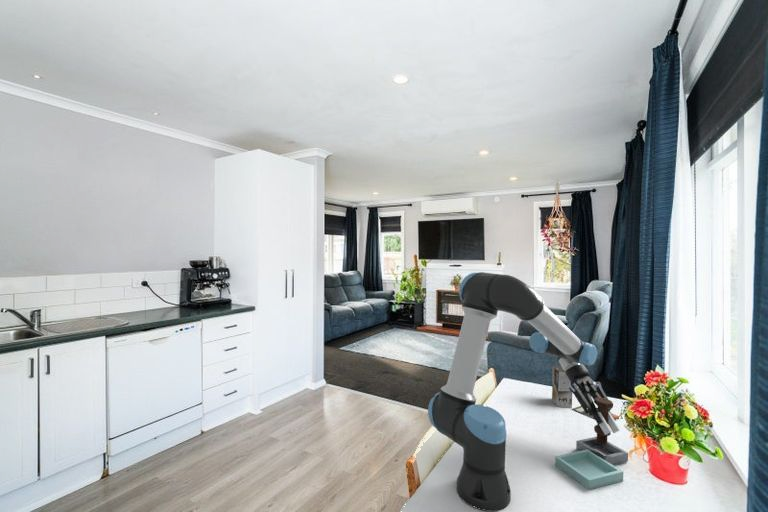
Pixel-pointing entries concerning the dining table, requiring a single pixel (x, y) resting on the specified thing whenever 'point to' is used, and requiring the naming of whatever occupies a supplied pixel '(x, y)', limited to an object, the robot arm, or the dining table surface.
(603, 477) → the tray
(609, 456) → the square frame
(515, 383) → the dining table surface
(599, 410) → the bolt
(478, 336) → the robot arm
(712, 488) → the dining table surface
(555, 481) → the dining table surface
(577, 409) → the calculator
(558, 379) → the coffee box
